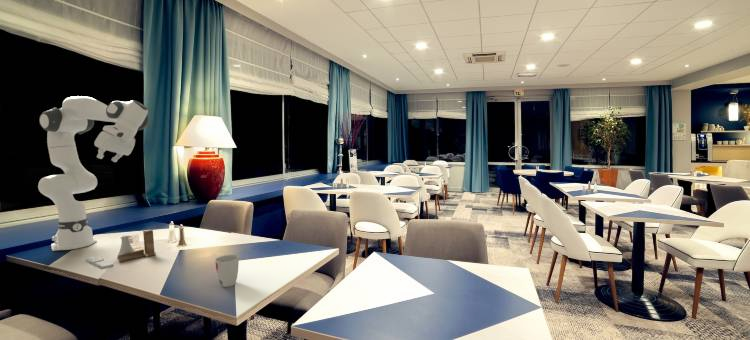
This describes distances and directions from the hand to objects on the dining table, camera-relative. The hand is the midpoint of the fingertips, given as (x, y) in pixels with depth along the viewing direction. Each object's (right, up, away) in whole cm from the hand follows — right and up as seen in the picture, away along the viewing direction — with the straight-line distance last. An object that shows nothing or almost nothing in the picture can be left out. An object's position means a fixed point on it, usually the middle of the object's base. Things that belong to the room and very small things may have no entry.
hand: (106, 159), depth 164 cm
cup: (+68, -48, -29) cm, 88 cm away
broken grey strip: (-2, -47, -2) cm, 47 cm away
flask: (+5, -47, +6) cm, 47 cm away
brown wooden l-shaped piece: (+5, -46, +8) cm, 47 cm away
